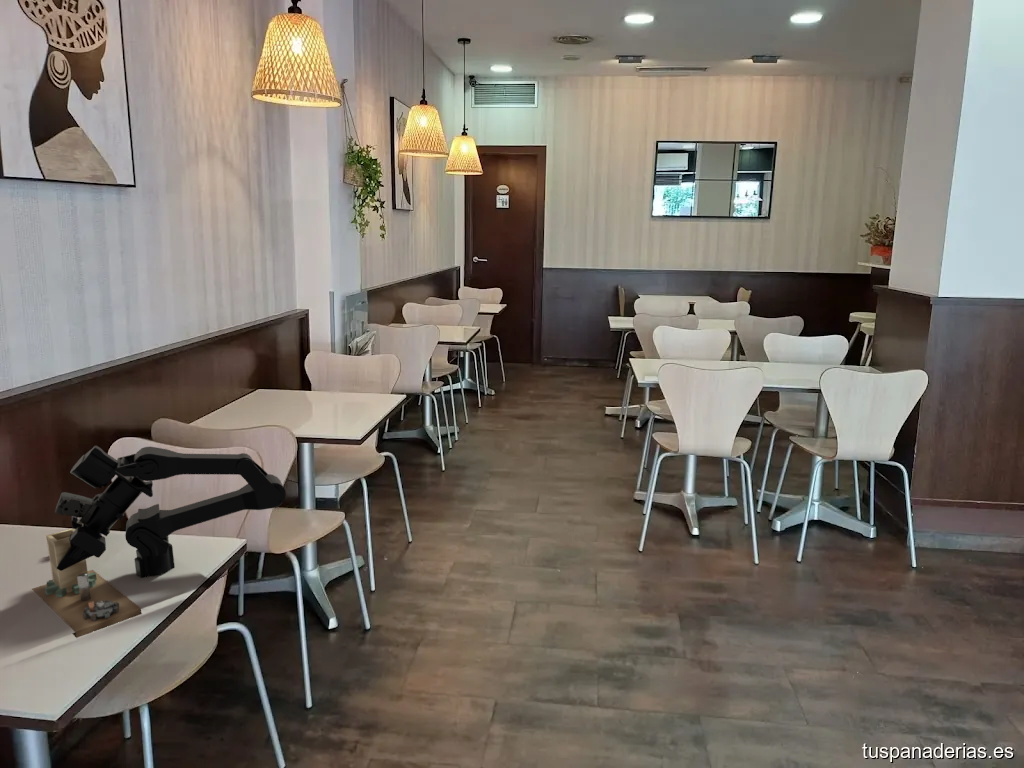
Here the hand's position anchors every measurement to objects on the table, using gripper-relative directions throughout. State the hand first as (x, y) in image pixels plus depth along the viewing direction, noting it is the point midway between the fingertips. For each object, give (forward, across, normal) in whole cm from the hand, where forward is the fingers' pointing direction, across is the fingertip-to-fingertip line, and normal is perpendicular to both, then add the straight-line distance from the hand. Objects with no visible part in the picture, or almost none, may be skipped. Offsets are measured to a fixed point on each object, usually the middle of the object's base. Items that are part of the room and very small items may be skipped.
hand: (59, 562), depth 151 cm
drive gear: (-1, +15, +9) cm, 18 cm away
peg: (+1, +7, +7) cm, 10 cm away
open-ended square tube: (+3, 0, +5) cm, 6 cm away
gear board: (+2, +7, +8) cm, 10 cm away
